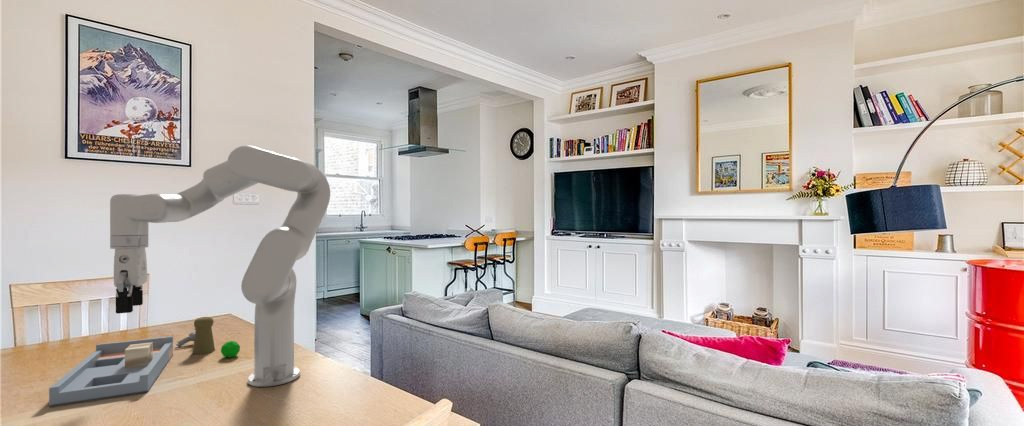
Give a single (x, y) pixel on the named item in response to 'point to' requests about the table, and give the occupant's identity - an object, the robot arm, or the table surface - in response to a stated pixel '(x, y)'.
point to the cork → (203, 336)
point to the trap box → (110, 373)
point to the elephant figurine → (186, 339)
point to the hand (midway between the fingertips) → (129, 308)
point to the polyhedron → (230, 349)
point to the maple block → (138, 355)
